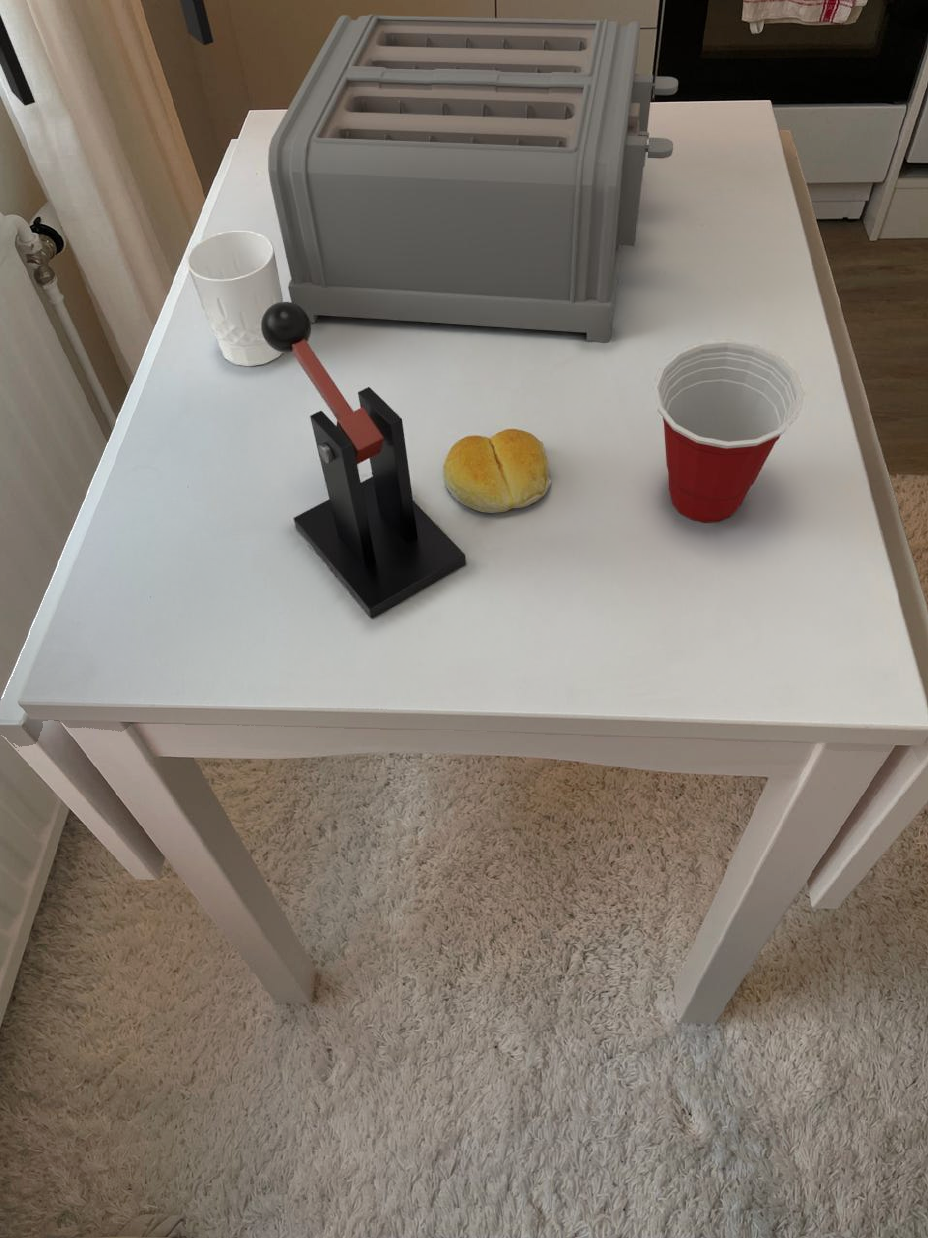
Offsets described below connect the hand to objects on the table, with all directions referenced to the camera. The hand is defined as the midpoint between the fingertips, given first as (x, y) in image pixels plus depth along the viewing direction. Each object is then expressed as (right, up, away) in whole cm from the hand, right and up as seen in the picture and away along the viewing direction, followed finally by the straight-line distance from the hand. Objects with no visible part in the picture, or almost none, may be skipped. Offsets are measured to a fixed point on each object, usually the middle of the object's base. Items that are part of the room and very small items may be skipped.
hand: (115, 66), depth 68 cm
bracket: (+18, -33, +10) cm, 39 cm away
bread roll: (+28, -28, +14) cm, 42 cm away
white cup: (+4, -12, +27) cm, 30 cm away
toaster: (+28, +1, +35) cm, 45 cm away
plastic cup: (+45, -30, +12) cm, 55 cm away
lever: (+14, -22, +3) cm, 27 cm away
